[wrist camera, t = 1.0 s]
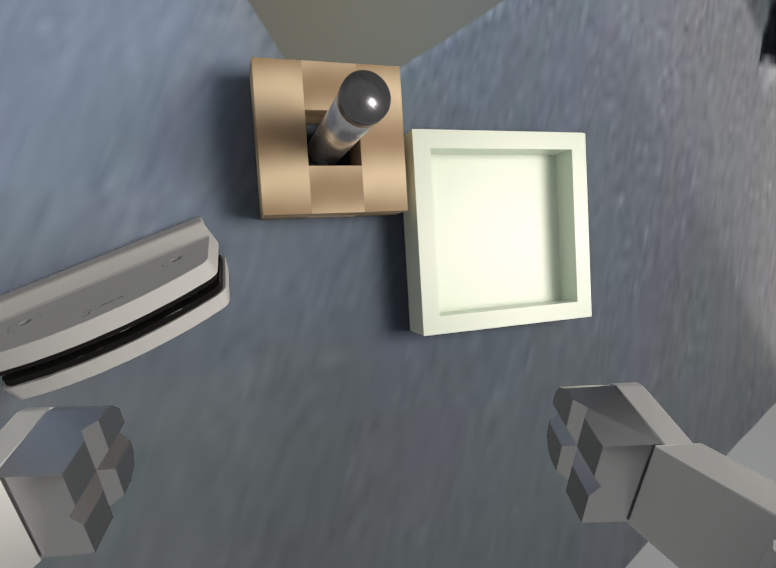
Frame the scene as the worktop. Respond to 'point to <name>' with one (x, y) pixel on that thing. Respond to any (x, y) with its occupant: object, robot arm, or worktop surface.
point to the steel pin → (350, 116)
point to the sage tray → (495, 229)
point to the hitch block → (289, 144)
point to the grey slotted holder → (110, 309)
